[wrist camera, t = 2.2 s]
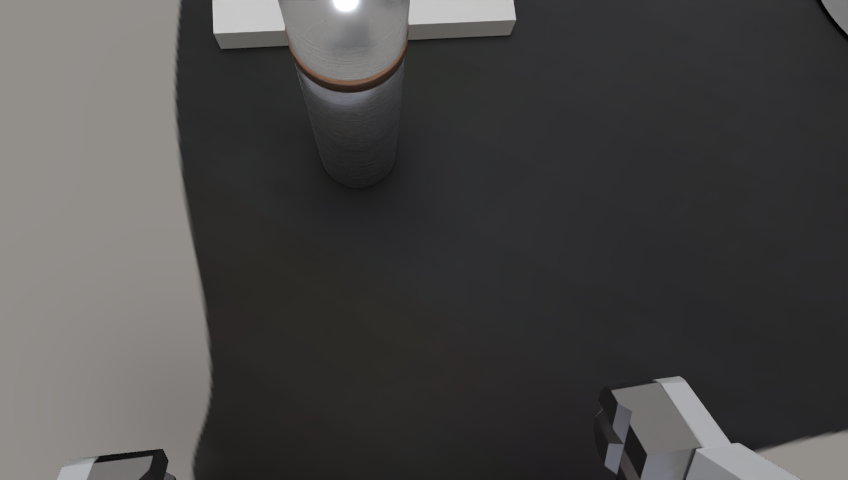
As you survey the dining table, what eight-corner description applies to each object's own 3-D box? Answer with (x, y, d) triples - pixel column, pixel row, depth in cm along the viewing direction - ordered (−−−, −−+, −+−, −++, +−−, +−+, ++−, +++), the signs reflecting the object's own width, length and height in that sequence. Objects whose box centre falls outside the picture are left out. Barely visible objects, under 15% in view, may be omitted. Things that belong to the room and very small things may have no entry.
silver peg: (347, 102, 32) (325, -98, 18) (411, 142, 31) (438, -30, 18) (303, 161, 31) (245, -1, 17) (369, 203, 30) (363, 73, 17)
